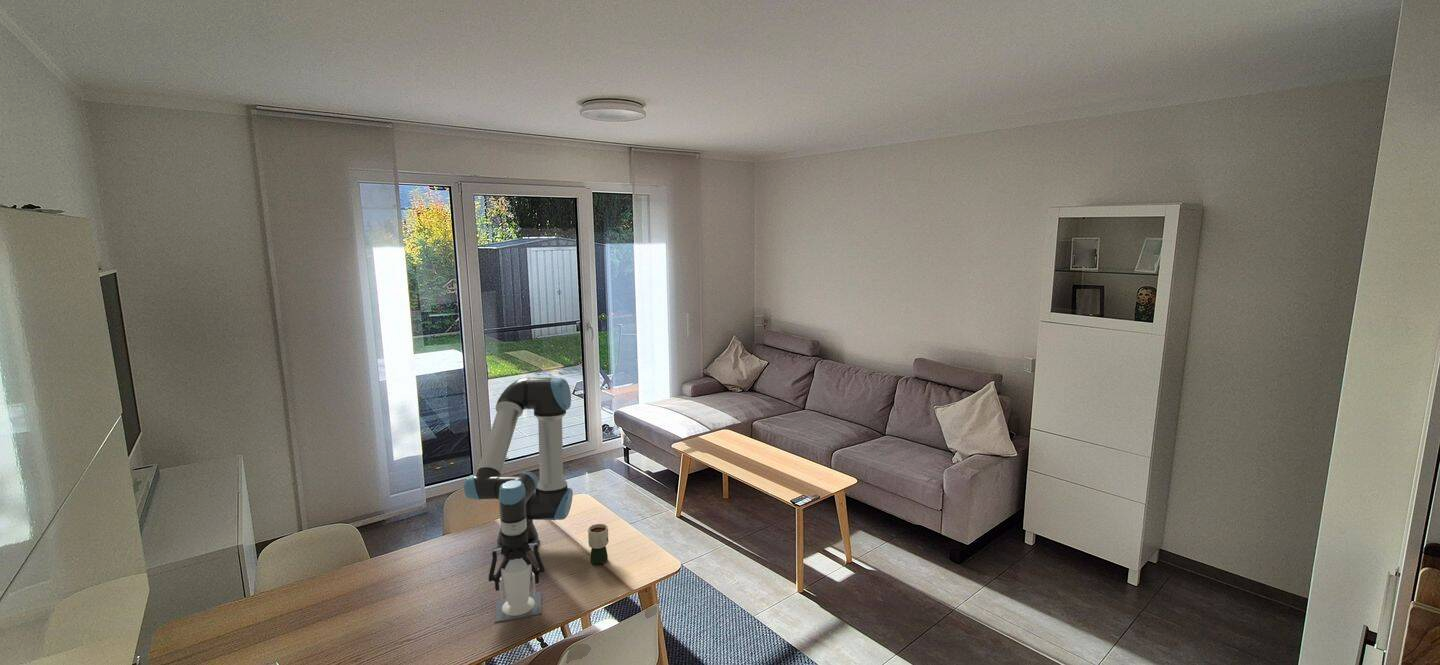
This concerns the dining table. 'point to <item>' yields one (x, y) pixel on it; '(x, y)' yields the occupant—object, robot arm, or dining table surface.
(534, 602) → the mat
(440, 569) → the dining table surface
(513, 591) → the foam cup
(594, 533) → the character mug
